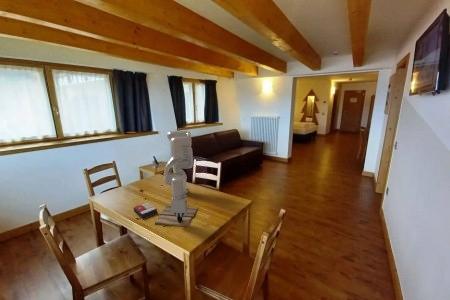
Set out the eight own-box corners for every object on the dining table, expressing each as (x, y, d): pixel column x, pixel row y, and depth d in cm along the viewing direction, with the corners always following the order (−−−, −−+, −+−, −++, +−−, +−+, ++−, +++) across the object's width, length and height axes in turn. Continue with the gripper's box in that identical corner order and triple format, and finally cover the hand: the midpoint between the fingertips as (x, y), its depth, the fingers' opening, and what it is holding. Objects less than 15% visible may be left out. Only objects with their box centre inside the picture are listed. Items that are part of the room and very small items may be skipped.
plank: (160, 216, 148) (160, 215, 148) (191, 218, 145) (191, 217, 145) (154, 224, 139) (154, 222, 139) (187, 226, 136) (187, 224, 136)
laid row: (166, 207, 161) (166, 205, 161) (197, 209, 158) (197, 207, 158) (159, 215, 149) (159, 214, 149) (192, 218, 146) (192, 216, 146)
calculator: (147, 201, 162) (156, 207, 152) (148, 207, 163) (157, 213, 153) (133, 207, 155) (141, 213, 144) (133, 212, 156) (142, 219, 145)
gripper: (191, 193, 139) (192, 218, 143) (169, 192, 140) (171, 217, 145) (188, 199, 131) (189, 225, 136) (165, 197, 133) (167, 223, 137)
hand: (180, 221), depth 140 cm, fingers closed
